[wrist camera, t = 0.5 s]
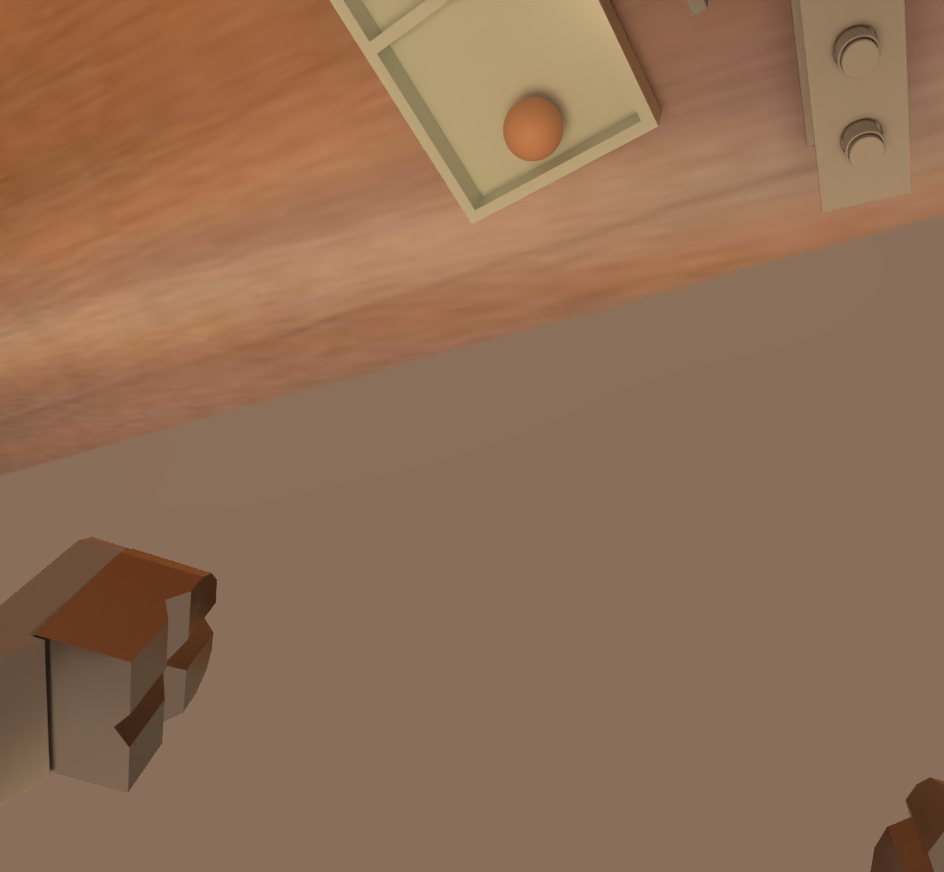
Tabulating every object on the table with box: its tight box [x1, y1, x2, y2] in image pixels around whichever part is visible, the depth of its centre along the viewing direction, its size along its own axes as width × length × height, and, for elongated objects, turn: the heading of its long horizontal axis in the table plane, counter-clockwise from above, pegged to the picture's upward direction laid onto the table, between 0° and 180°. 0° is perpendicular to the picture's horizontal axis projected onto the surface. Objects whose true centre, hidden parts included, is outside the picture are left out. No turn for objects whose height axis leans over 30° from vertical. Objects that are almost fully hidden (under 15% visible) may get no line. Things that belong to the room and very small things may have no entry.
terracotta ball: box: [503, 97, 563, 161], centre depth 50 cm, size 4×4×4 cm
